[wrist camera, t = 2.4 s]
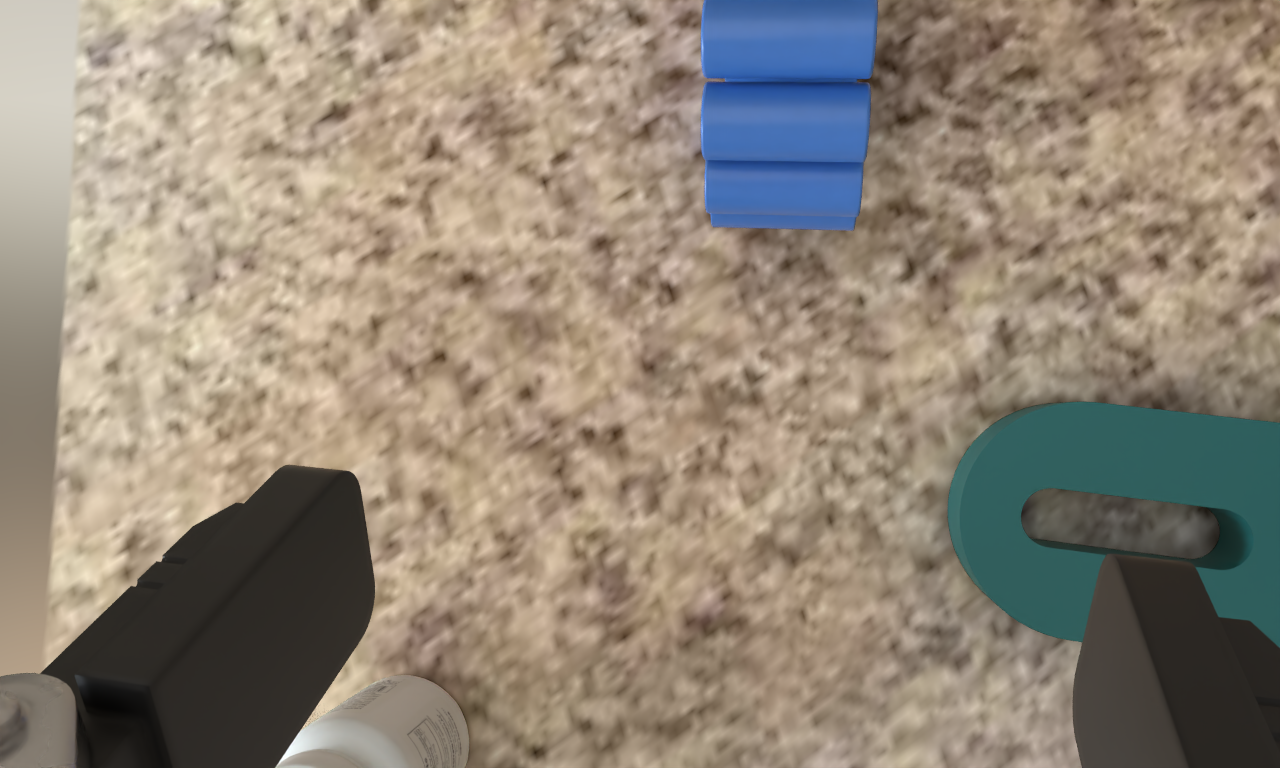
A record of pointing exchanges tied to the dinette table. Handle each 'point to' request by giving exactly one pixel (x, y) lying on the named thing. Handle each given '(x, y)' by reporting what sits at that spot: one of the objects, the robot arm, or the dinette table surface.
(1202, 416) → the bracket
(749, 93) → the blue ribbed cylinder bundle
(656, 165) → the dinette table surface
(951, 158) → the dinette table surface
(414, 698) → the pill bottle
